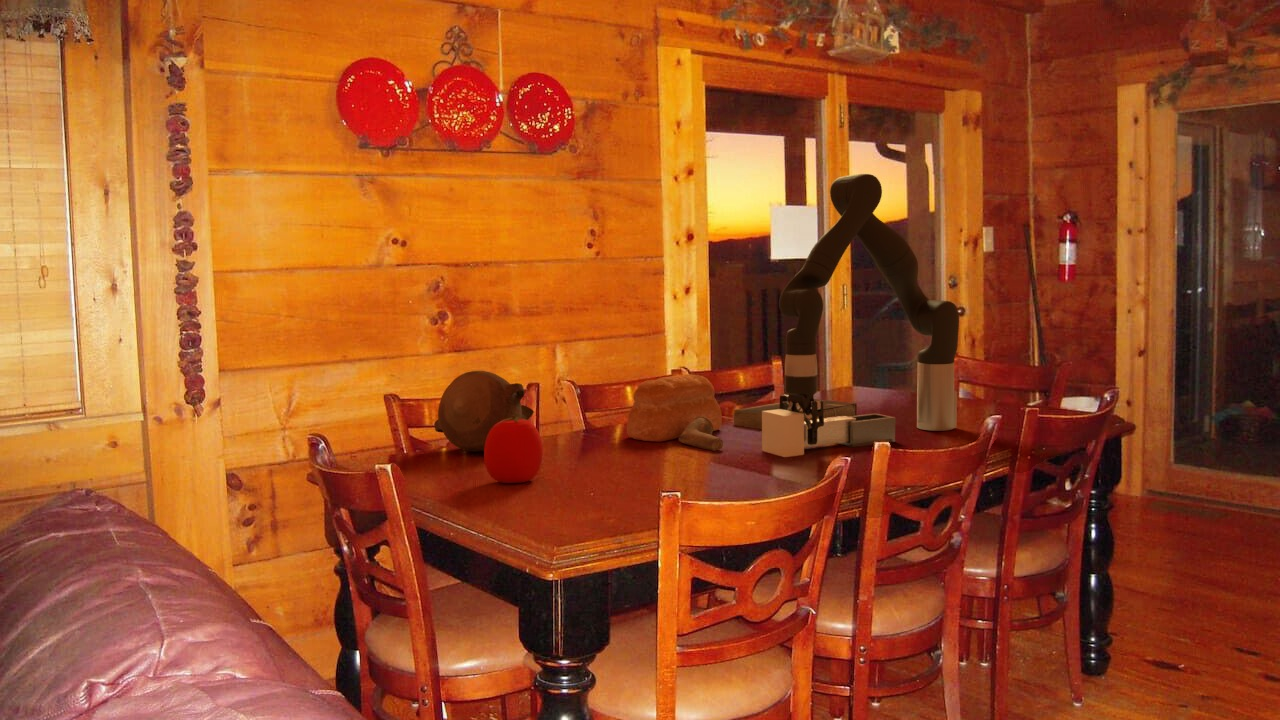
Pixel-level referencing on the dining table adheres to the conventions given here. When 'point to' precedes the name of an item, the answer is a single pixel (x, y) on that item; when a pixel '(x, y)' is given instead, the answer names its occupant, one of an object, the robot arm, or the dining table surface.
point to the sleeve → (871, 429)
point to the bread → (671, 407)
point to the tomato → (513, 451)
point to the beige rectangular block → (831, 431)
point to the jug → (478, 408)
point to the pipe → (701, 435)
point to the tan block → (783, 432)
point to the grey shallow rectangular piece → (754, 414)
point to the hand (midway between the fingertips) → (801, 441)
